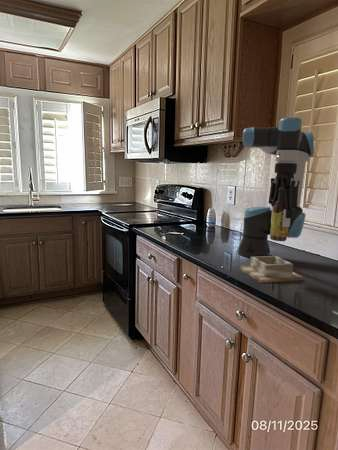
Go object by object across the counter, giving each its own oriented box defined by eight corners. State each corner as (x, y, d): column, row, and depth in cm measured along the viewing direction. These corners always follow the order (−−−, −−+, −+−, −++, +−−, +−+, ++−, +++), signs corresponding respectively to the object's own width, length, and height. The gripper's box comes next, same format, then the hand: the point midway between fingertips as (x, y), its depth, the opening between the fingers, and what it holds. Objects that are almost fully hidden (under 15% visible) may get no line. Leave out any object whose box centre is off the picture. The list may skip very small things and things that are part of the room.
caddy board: (239, 268, 130) (240, 255, 129) (277, 267, 134) (279, 254, 133) (260, 282, 114) (262, 267, 113) (302, 280, 119) (304, 265, 118)
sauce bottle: (280, 242, 116) (286, 188, 112) (266, 239, 121) (271, 187, 117) (290, 240, 120) (296, 188, 116) (276, 237, 125) (281, 186, 120)
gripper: (262, 161, 122) (257, 220, 127) (295, 162, 104) (287, 230, 109) (278, 162, 124) (273, 219, 129) (313, 163, 107) (305, 229, 111)
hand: (279, 224), depth 119 cm, fingers closed on sauce bottle, 6 cm apart
